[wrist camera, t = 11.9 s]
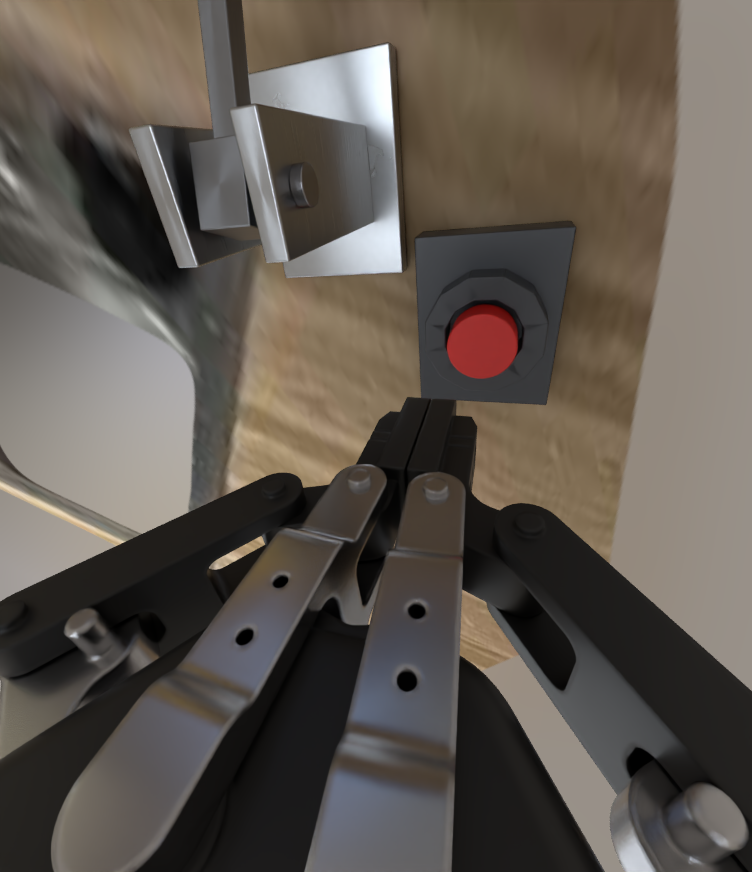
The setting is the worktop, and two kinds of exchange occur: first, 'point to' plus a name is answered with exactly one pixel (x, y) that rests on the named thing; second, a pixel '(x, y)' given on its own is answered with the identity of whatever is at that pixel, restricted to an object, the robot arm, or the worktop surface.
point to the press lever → (223, 125)
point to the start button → (483, 341)
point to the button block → (497, 285)
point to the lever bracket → (299, 169)
